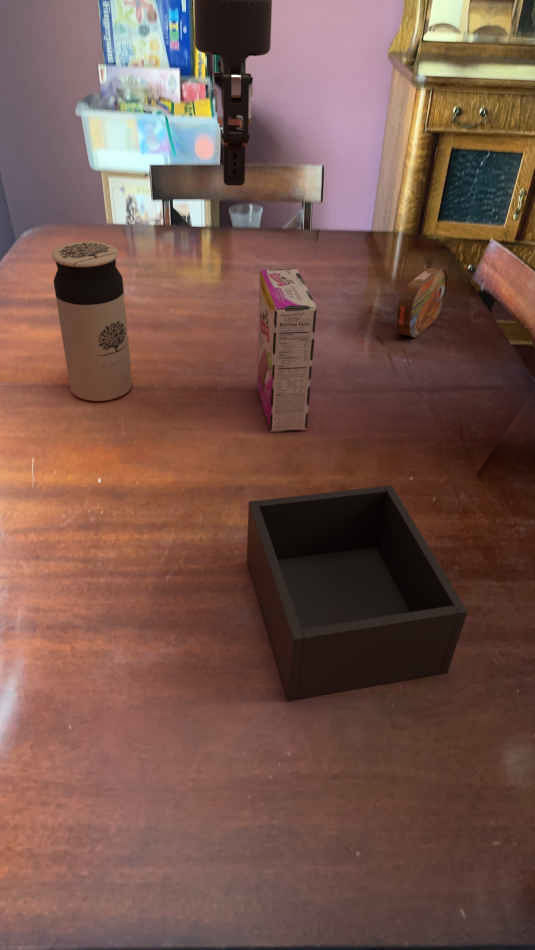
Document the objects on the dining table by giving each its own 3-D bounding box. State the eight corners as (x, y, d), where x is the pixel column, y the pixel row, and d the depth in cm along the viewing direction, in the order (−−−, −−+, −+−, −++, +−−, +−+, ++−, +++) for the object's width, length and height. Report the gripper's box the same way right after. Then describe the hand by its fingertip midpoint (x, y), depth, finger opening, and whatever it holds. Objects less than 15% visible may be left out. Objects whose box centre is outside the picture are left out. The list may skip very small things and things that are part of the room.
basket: (380, 543, 67) (391, 484, 63) (447, 672, 55) (468, 611, 51) (246, 561, 64) (248, 501, 60) (287, 701, 52) (293, 639, 48)
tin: (407, 345, 103) (417, 292, 98) (388, 339, 104) (397, 287, 99) (443, 313, 113) (454, 263, 108) (426, 308, 114) (435, 259, 109)
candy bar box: (254, 388, 91) (258, 268, 81) (290, 386, 91) (299, 267, 81) (267, 434, 82) (274, 306, 72) (308, 432, 83) (320, 305, 73)
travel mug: (61, 382, 90) (38, 246, 79) (116, 367, 93) (102, 236, 82) (85, 409, 85) (65, 268, 74) (142, 392, 88) (131, 256, 77)
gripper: (279, 0, 60) (271, 193, 69) (265, -7, 71) (260, 160, 81) (194, -4, 59) (198, 191, 69) (193, -10, 70) (197, 158, 80)
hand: (231, 174), depth 75 cm, fingers open, 8 cm apart
